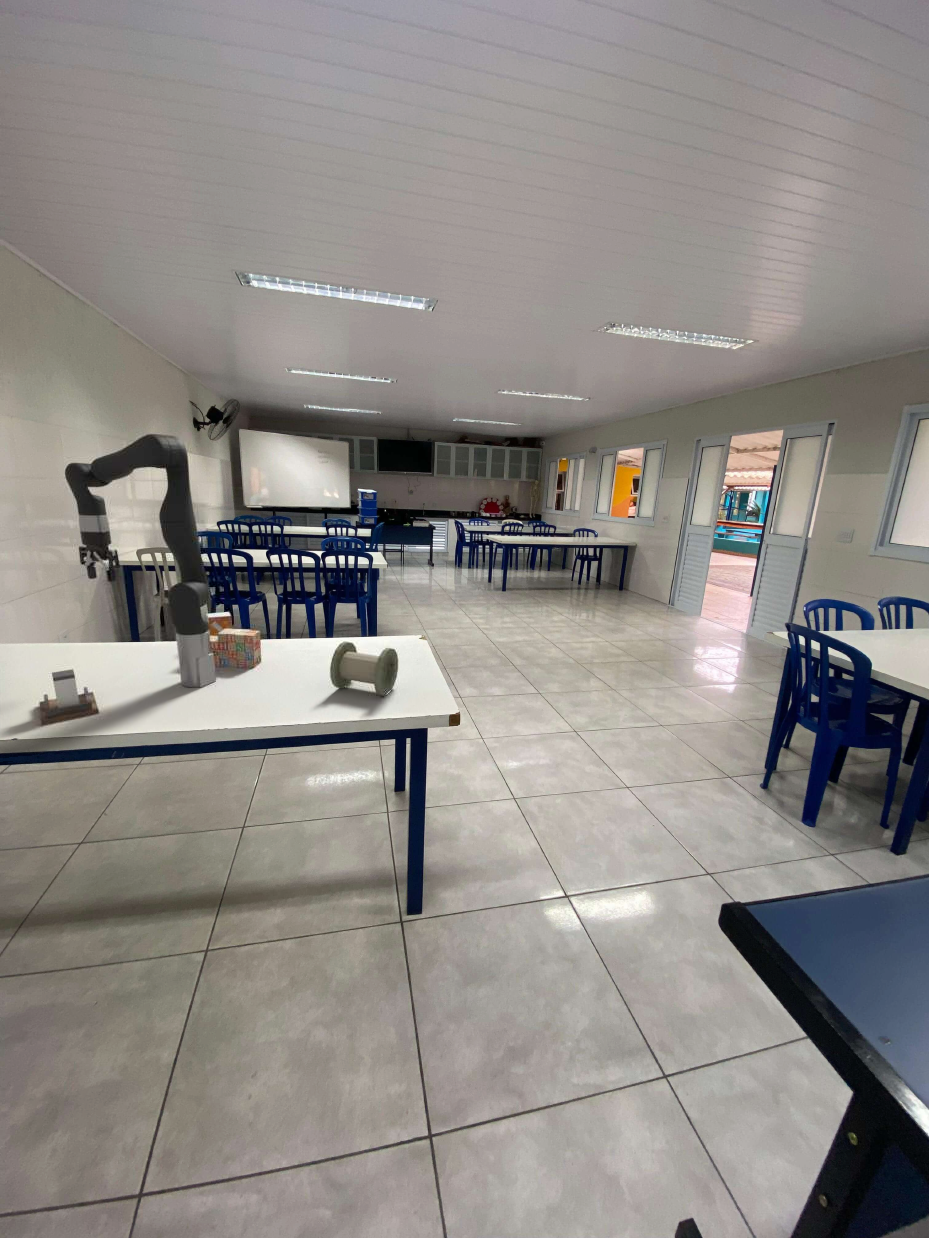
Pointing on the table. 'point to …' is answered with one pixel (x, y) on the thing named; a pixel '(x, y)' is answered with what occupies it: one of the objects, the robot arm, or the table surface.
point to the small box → (218, 622)
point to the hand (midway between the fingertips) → (102, 580)
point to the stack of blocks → (236, 648)
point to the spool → (364, 668)
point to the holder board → (67, 708)
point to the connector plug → (65, 688)
